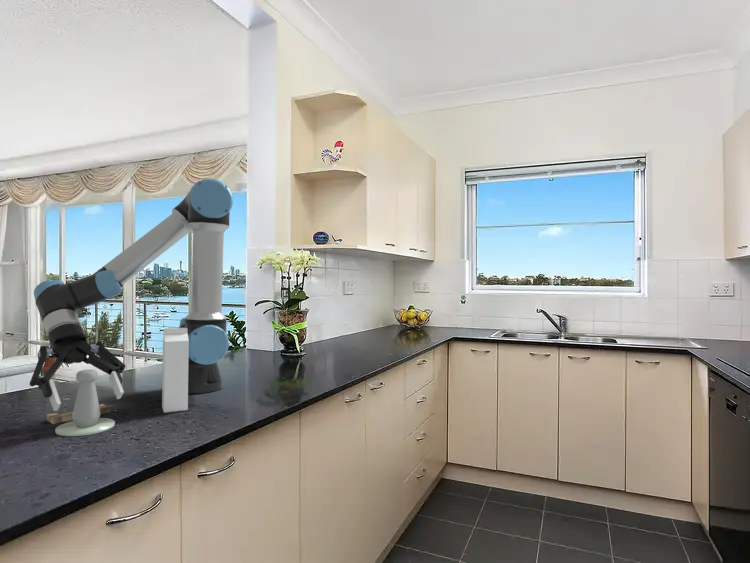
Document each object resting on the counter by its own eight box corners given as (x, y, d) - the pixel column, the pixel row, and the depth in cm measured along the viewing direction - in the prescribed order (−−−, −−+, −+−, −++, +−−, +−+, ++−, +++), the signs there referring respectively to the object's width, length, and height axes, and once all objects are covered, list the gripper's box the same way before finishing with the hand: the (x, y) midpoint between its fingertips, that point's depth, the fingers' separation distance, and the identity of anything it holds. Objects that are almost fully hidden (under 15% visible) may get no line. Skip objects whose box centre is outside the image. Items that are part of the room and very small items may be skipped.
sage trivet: (122, 419, 118) (122, 417, 118) (102, 435, 106) (102, 432, 106) (70, 420, 117) (70, 418, 117) (44, 437, 105) (44, 434, 105)
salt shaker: (70, 430, 108) (70, 373, 108) (72, 423, 113) (73, 369, 113) (99, 427, 110) (100, 371, 110) (101, 420, 116) (101, 367, 115)
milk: (187, 410, 128) (189, 329, 127) (163, 413, 125) (164, 329, 125) (185, 404, 133) (186, 326, 133) (161, 407, 130) (163, 327, 130)
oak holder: (46, 420, 116) (46, 414, 116) (102, 409, 127) (102, 404, 127) (53, 424, 114) (53, 417, 114) (109, 412, 124) (109, 406, 124)
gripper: (111, 337, 131) (138, 400, 122) (0, 346, 111) (22, 422, 102) (121, 319, 127) (148, 382, 119) (8, 325, 107) (31, 402, 99)
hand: (90, 401), depth 110 cm, fingers open, 13 cm apart
